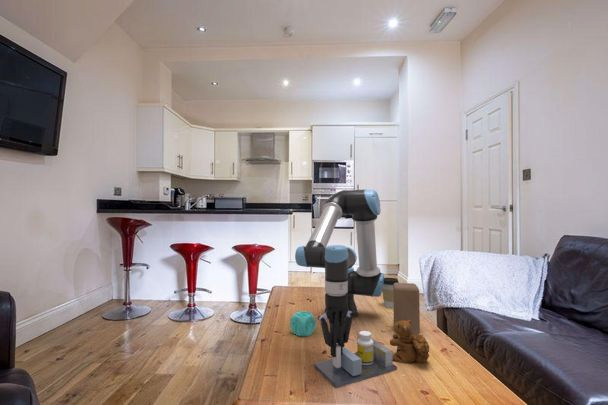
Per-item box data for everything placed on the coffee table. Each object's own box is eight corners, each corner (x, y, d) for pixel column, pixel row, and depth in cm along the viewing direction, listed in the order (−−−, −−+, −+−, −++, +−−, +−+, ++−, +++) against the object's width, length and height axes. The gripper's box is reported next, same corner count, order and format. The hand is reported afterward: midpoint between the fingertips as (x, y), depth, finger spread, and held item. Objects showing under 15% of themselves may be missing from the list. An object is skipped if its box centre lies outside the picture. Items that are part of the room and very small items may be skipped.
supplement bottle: (355, 358, 106) (354, 330, 106) (369, 357, 107) (369, 329, 107) (360, 366, 100) (360, 336, 101) (376, 364, 101) (375, 335, 102)
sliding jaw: (332, 359, 105) (332, 345, 105) (341, 357, 106) (341, 343, 106) (353, 376, 94) (353, 361, 94) (362, 373, 95) (362, 358, 96)
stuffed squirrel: (397, 348, 116) (396, 314, 116) (435, 360, 107) (435, 322, 107) (386, 358, 108) (385, 321, 108) (426, 371, 99) (426, 331, 99)
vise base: (313, 366, 102) (313, 348, 103) (370, 351, 113) (370, 335, 113) (335, 388, 90) (335, 367, 90) (397, 369, 100) (396, 351, 101)
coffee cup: (401, 305, 168) (401, 278, 168) (396, 310, 160) (396, 282, 160) (384, 302, 173) (383, 276, 174) (378, 307, 165) (378, 279, 165)
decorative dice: (289, 333, 130) (289, 314, 131) (302, 327, 136) (302, 310, 136) (303, 338, 125) (303, 318, 125) (315, 332, 131) (315, 314, 131)
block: (420, 336, 127) (419, 288, 128) (395, 334, 129) (395, 287, 130) (416, 327, 137) (415, 283, 137) (393, 325, 139) (393, 282, 139)
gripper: (324, 298, 93) (325, 376, 92) (359, 293, 98) (359, 366, 98) (313, 292, 99) (313, 364, 99) (346, 288, 105) (346, 356, 105)
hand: (336, 365), depth 98 cm, fingers closed
